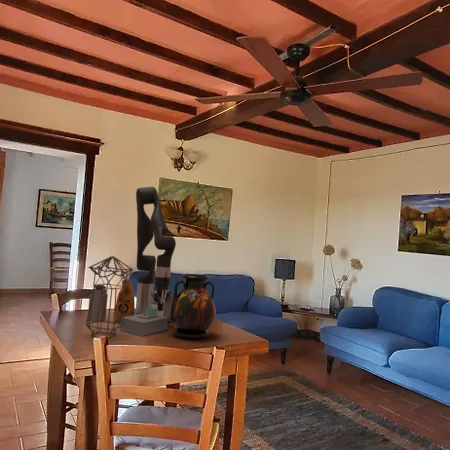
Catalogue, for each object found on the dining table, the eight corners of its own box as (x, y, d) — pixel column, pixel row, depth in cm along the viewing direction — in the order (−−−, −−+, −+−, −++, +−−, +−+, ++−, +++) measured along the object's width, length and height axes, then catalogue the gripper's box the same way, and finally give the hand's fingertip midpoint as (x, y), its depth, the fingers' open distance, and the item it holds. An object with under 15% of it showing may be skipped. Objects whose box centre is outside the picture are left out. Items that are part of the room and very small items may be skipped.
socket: (145, 325, 202) (146, 313, 202) (166, 330, 194) (167, 317, 194) (119, 330, 187) (120, 317, 187) (142, 336, 180) (143, 322, 180)
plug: (155, 322, 210) (157, 301, 210) (162, 323, 208) (164, 302, 208) (149, 323, 206) (151, 301, 207) (156, 325, 204) (158, 303, 204)
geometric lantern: (96, 330, 185) (104, 254, 187) (128, 334, 182) (136, 257, 184) (77, 337, 170) (87, 254, 171) (112, 342, 167) (121, 258, 168)
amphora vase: (171, 341, 174) (176, 276, 175) (165, 329, 195) (169, 271, 196) (219, 341, 180) (224, 278, 181) (208, 330, 201) (212, 273, 202)
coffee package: (111, 323, 200) (115, 279, 201) (116, 318, 212) (119, 276, 213) (132, 324, 201) (135, 280, 202) (135, 319, 213) (138, 277, 214)
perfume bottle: (105, 319, 207) (108, 284, 208) (100, 322, 201) (103, 286, 201) (93, 318, 208) (95, 283, 209) (87, 321, 201) (90, 285, 202)
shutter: (146, 314, 197) (146, 307, 197) (157, 316, 193) (157, 309, 193) (136, 316, 191) (137, 308, 191) (147, 318, 188) (148, 310, 188)
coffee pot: (157, 322, 210) (159, 293, 210) (155, 318, 221) (157, 290, 221) (197, 323, 215) (199, 295, 215) (193, 318, 226) (195, 292, 226)
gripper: (165, 274, 208) (163, 308, 208) (148, 275, 197) (145, 311, 196) (177, 276, 204) (174, 310, 204) (159, 277, 193) (156, 313, 192)
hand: (160, 310), depth 200 cm, fingers closed
